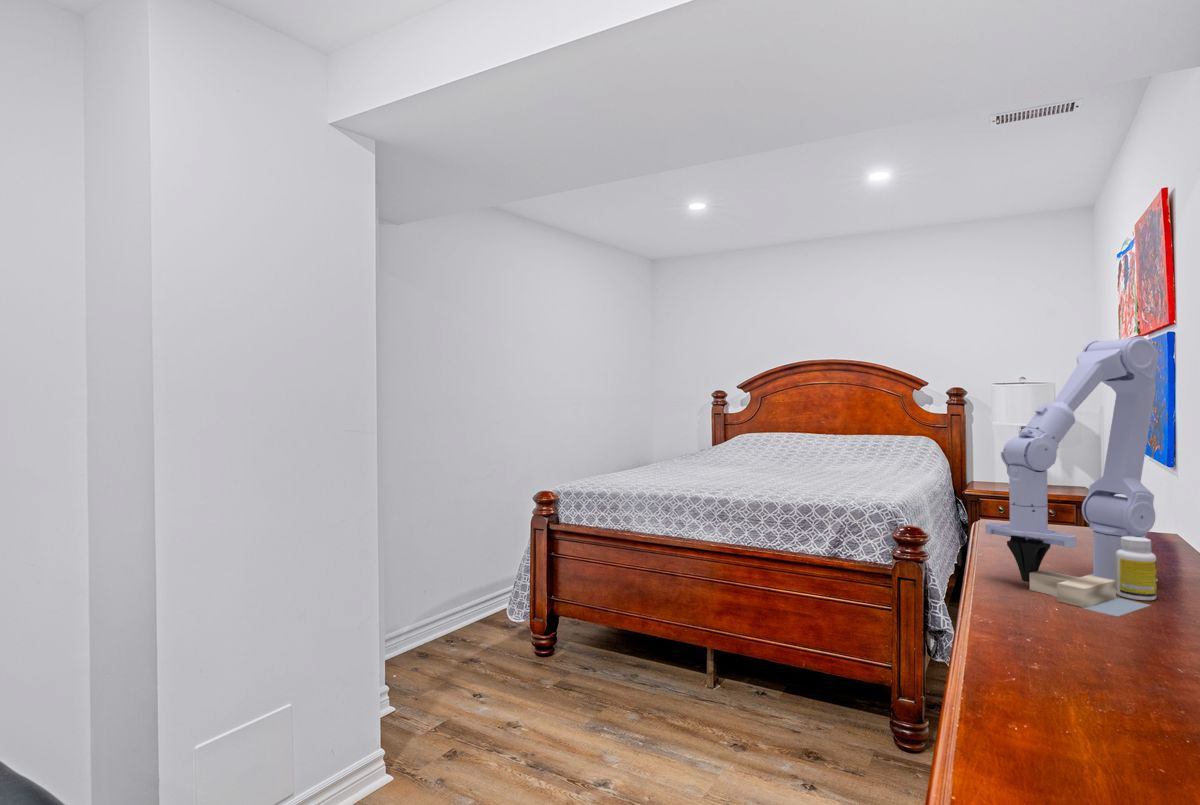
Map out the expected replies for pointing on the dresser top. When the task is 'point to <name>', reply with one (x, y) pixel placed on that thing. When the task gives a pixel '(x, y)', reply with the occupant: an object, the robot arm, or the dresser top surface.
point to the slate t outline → (1116, 607)
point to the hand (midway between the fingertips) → (1028, 580)
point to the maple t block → (1073, 588)
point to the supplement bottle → (1136, 569)
